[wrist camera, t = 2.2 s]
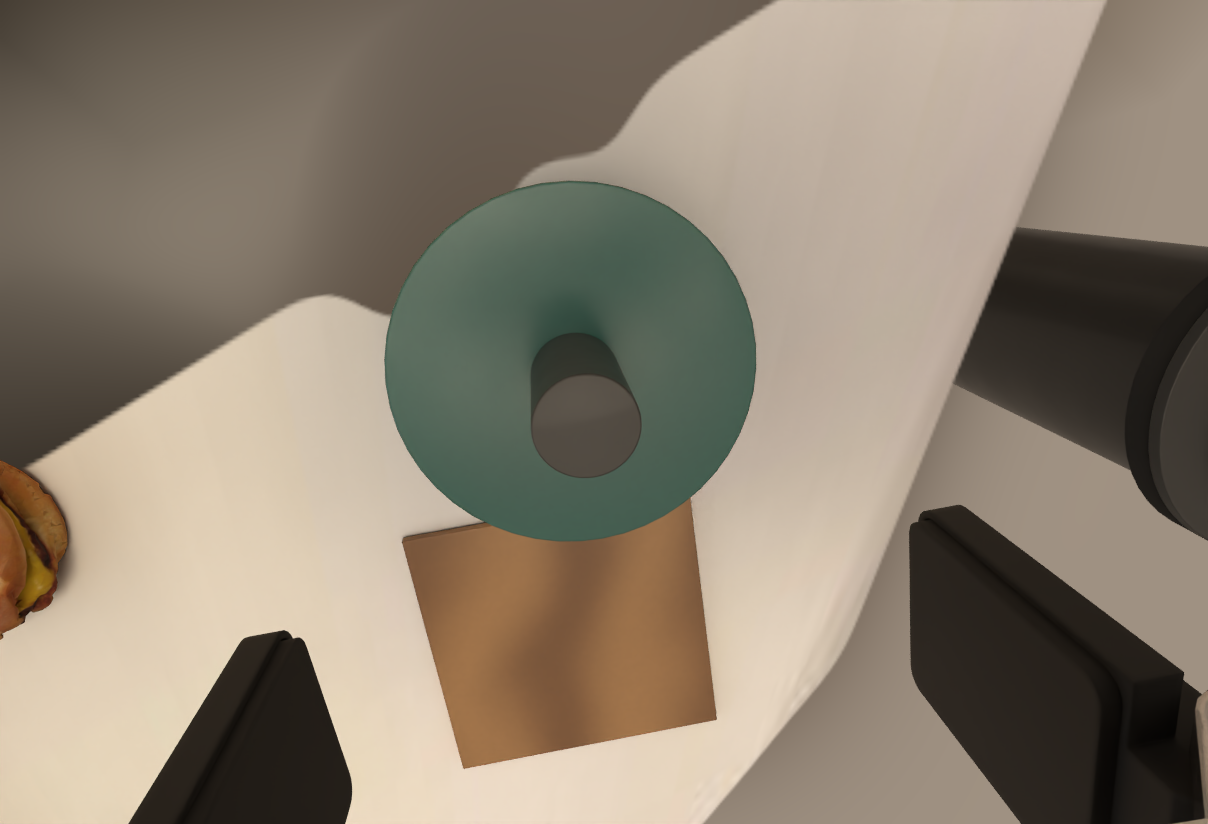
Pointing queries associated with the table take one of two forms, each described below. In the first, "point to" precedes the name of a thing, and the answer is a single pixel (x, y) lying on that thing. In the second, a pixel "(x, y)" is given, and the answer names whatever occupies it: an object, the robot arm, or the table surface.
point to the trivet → (564, 635)
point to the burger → (27, 547)
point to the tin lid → (570, 361)
